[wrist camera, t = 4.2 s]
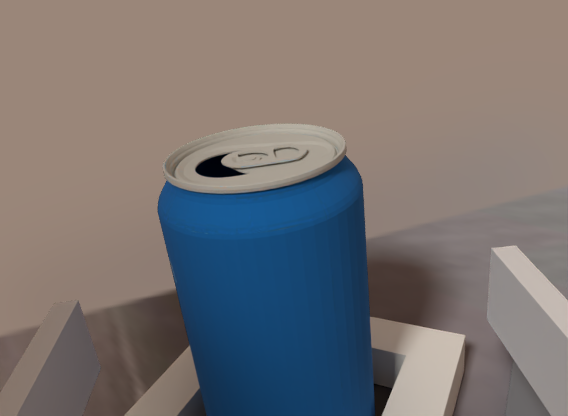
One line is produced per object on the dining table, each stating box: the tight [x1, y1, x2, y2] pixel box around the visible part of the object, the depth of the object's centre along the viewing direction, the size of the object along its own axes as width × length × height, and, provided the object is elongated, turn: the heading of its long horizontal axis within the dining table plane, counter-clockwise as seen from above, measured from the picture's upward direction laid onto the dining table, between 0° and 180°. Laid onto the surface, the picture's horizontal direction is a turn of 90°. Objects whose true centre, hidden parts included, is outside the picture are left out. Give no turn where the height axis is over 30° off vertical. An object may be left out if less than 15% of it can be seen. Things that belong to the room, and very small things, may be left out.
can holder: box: [124, 317, 465, 416], centre depth 21 cm, size 11×11×2 cm
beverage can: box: [158, 124, 375, 416], centre depth 18 cm, size 6×6×12 cm
